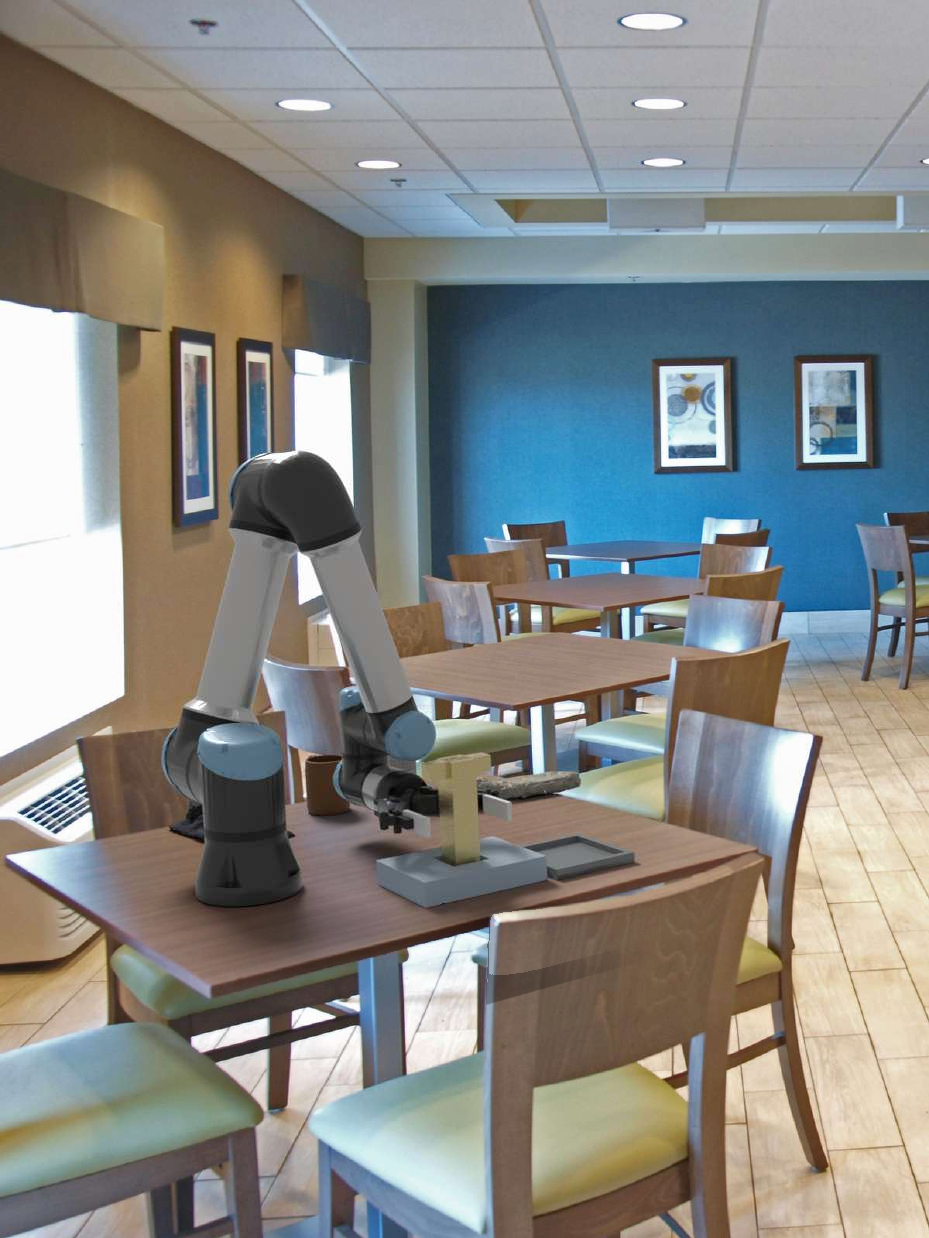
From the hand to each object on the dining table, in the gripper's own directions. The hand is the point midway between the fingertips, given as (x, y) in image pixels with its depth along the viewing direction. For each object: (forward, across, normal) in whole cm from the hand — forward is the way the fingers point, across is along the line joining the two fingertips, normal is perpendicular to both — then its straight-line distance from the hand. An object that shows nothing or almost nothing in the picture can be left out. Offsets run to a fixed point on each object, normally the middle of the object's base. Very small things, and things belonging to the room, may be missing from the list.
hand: (469, 819), depth 194 cm
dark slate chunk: (-52, +15, -10) cm, 55 cm away
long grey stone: (-42, -31, -10) cm, 53 cm away
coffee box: (-56, -18, -10) cm, 60 cm away
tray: (-1, -18, -9) cm, 20 cm away
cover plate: (-2, 0, -9) cm, 10 cm away
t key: (-2, 0, -10) cm, 10 cm away
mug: (-56, -4, -10) cm, 57 cm away
